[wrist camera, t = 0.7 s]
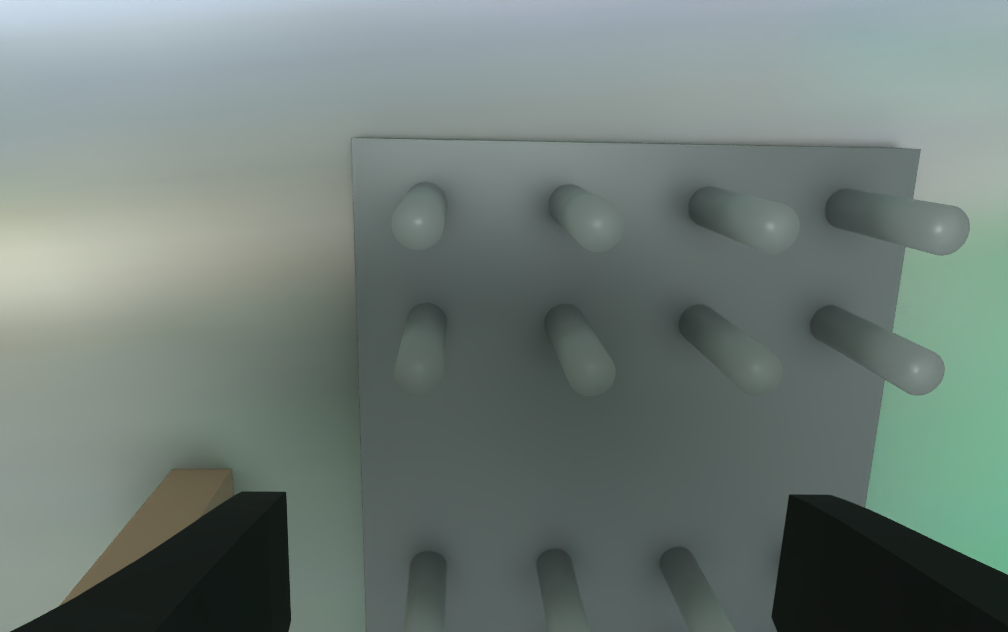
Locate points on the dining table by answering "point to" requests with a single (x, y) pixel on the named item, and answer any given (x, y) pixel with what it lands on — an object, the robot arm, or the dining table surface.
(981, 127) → the dining table surface
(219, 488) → the tall tan block
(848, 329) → the dish rack
